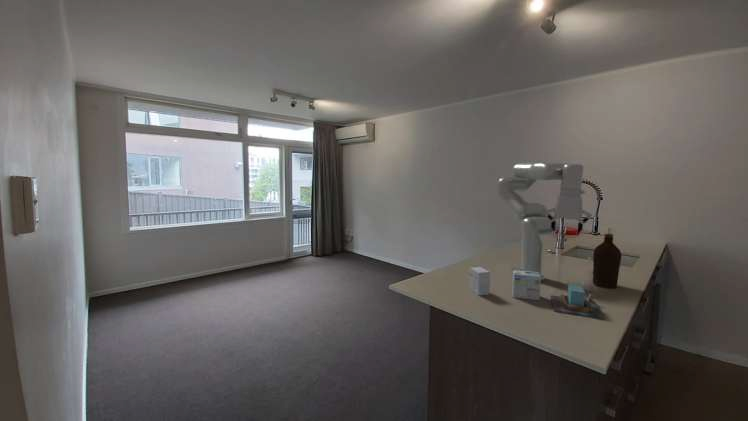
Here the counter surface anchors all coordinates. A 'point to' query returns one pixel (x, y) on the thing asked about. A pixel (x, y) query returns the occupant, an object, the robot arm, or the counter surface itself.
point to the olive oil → (606, 263)
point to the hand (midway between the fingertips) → (565, 231)
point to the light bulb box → (526, 285)
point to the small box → (479, 281)
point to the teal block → (576, 295)
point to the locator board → (576, 307)
